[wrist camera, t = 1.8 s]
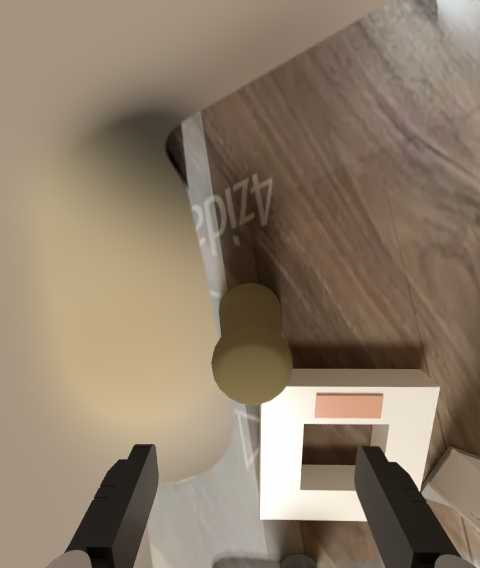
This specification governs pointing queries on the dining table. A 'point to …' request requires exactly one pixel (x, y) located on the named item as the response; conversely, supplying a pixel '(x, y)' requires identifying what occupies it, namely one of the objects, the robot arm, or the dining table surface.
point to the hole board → (340, 410)
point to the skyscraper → (456, 484)
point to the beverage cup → (298, 562)
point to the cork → (251, 346)
